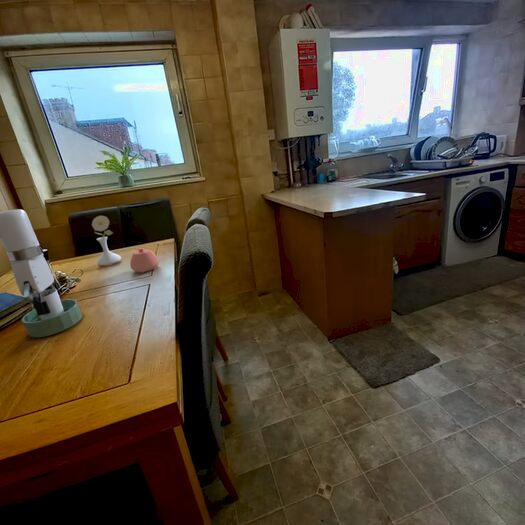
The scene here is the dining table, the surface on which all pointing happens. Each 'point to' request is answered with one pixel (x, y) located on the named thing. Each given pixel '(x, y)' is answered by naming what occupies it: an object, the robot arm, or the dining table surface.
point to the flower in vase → (104, 242)
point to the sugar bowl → (143, 260)
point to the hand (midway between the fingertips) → (49, 308)
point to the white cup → (52, 304)
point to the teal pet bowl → (52, 320)
